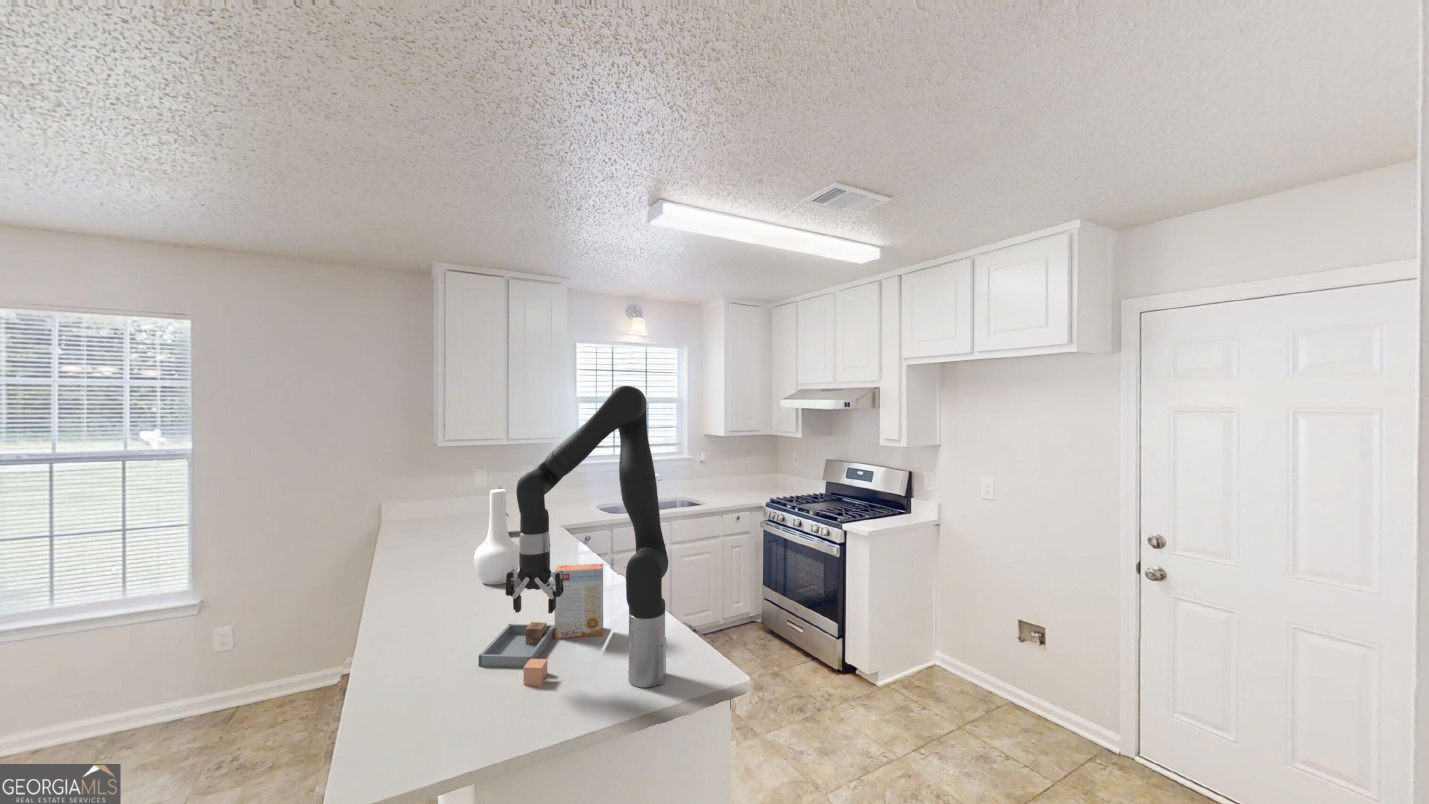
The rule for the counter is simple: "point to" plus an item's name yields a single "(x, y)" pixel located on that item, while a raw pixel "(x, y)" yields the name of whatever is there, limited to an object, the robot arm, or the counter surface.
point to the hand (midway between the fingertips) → (534, 611)
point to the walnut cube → (535, 632)
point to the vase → (496, 545)
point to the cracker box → (580, 602)
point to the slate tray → (514, 647)
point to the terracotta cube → (535, 672)
